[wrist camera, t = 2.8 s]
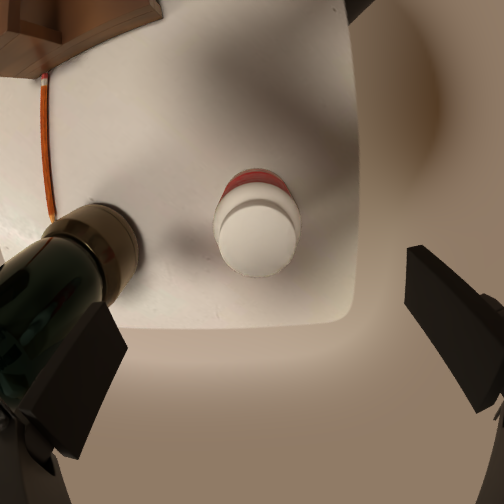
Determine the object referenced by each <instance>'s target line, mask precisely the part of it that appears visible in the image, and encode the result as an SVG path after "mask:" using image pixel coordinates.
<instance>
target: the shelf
mask: <svg viewBox="0 0 504 504" xmlns="http://www.w3.org/2000/svg"><path fill="white" fill-rule="evenodd" d="M162 18H163V17H162V11H161V6H160V5H159V4H158V3H157V2H156V1H155V0H0V77H13V78H26V79H37V78H38V77H40V76H41V75H42V74H43V73H46V72H48V71H49V70H51V69H53V68H54V67H56V66H58V65H59V64H61V63H63V62H65V61H66V60H68V59H70V58H72V57H74V56H76V55H77V54H79V53H81V52H83V51H85V50H87V49H89V48H91V47H93V46H95V45H97V44H99V43H102V42H104V41H106V40H108V39H110V38H113V37H115V36H117V35H120V34H122V33H124V32H127V31H129V30H132V29H134V28H137V27H140V26H142V25H145V24H148V23H150V22H153V21H156V20H159V19H162Z"/></svg>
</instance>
